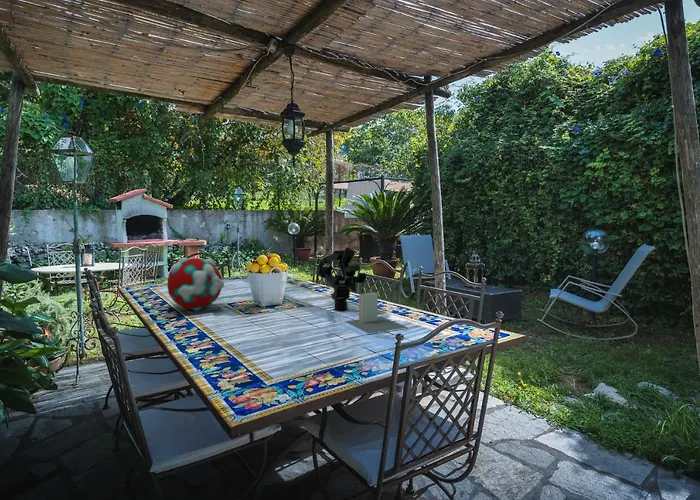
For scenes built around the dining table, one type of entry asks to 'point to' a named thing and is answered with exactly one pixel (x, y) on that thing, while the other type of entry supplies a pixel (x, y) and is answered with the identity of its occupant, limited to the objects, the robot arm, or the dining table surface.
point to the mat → (377, 325)
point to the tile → (368, 307)
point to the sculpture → (194, 283)
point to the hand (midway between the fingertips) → (354, 291)
